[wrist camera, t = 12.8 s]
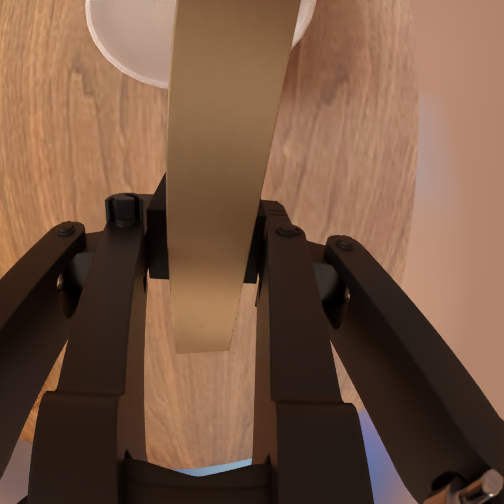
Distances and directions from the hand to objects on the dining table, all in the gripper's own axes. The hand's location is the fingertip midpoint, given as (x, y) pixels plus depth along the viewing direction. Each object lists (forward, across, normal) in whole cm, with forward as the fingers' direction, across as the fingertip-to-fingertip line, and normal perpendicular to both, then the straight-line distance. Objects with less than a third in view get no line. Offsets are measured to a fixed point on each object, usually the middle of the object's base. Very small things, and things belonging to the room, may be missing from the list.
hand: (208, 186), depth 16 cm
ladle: (+5, -1, +7) cm, 8 cm away
